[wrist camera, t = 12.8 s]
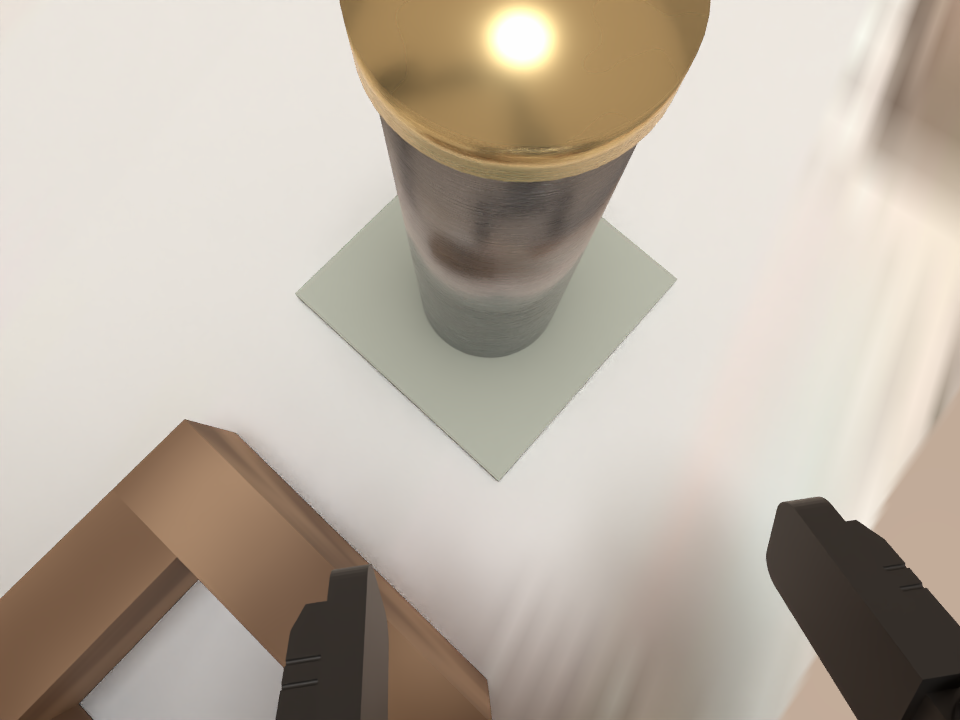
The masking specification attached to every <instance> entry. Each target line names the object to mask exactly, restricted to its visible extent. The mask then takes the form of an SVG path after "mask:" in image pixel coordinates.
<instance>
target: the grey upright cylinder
mask: <svg viewBox="0 0 960 720" xmlns="http://www.w3.org/2000/svg"><path fill="white" fill-rule="evenodd" d="M340 6H341V10H342V14H343V18H344V23H345V27H346V30H347V34H348V38H349V42H350V46H351V50H352V54H353V58H354V62H355V65H356V69H357V73H358V75H359V78H360V80H361V83H362V85H363V88H364V90H365V92H366V94H367V95H368V97H369V99H370V100H371V102H372V104H373V106H374V107H375V109H376V110H377V111H378V113H379V114H380V119H381V123H382V127H383V132H384V136H385V141H386V145H387V149H388V154H389V158H390V163H391V167H392V172H393V176H394V180H395V185H396V189H397V194H398V198H399V202H400V207H401V211H402V216H403V220H404V225H405V229H406V233H407V238H408V242H409V247H410V251H411V255H412V260H413V264H414V269H415V273H416V278H417V282H418V286H419V291H420V295H421V300H422V304H423V308H424V312H425V314H426V317H427V319H428V321H429V323H430V325H431V327H432V328H433V329H434V331H435V332H436V333H437V334H438V335H439V336H440V337H441V339H442V340H444V341H445V342H446V343H447V344H449V345H450V346H452V347H453V348H455V349H457V350H459V351H461V352H463V353H466V354H469V355H472V356H477V357H484V358H495V357H503V356H507V355H511V354H514V353H516V352H519V351H521V350H523V349H525V348H526V347H528V346H529V345H531V344H532V343H533V342H535V341H536V340H537V339H538V338H539V337H540V336H541V335H542V333H543V332H544V331H545V330H546V328H547V326H548V325H549V323H550V321H551V319H552V317H553V315H554V313H555V311H556V309H557V307H558V305H559V303H560V301H561V299H562V297H563V295H564V293H565V290H566V288H567V286H568V284H569V282H570V280H571V278H572V276H573V274H574V272H575V270H576V268H577V266H578V264H579V262H580V260H581V258H582V256H583V254H584V252H585V249H586V247H587V245H588V243H589V241H590V239H591V237H592V235H593V233H594V231H595V229H596V227H597V225H598V223H599V221H600V219H601V217H602V215H603V213H604V211H605V209H606V206H607V204H608V202H609V200H610V198H611V196H612V194H613V192H614V190H615V188H616V186H617V184H618V182H619V180H620V178H621V176H622V174H623V172H624V170H625V168H626V165H627V163H628V161H629V159H630V157H631V155H632V153H633V151H634V149H635V147H636V145H637V143H638V142H639V141H640V140H641V139H643V138H644V137H645V136H646V135H647V134H648V133H649V132H650V131H651V130H652V129H653V127H654V126H655V125H656V124H657V123H658V121H659V120H660V119H661V118H662V117H663V115H664V113H665V112H666V110H667V108H668V107H669V105H670V103H671V102H672V100H673V98H674V96H675V94H676V93H677V91H678V89H679V87H680V85H681V83H682V81H683V79H684V77H685V75H686V73H687V72H688V70H689V68H690V66H691V64H692V62H693V60H694V58H695V56H696V54H697V52H698V50H699V47H700V45H701V42H702V40H703V37H704V35H705V31H706V27H707V22H708V18H709V12H710V0H340Z"/></svg>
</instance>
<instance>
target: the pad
mask: <svg viewBox="0 0 960 720" xmlns="http://www.w3.org/2000/svg"><path fill="white" fill-rule="evenodd" d="M676 280H677V279H676V278H675V277H674V276H673V275H672V274H670V273H669V272H668V271H667V270H666V269H664V268H663V267H662V266H661V265H659V264H658V263H657V262H656V261H655V260H653V259H652V258H651V257H650V256H649V255H647V254H646V253H645V252H644V251H642V250H641V249H640V248H639V247H638V246H636V245H635V244H634V243H633V242H632V241H630V240H629V239H628V238H627V237H625V236H624V235H623V234H622V233H621V232H619V231H618V230H617V229H616V228H615V227H613V226H612V225H611V224H610V223H608V222H607V221H606V220H605V219H604V218H602V217H601V219H600V221H599V223H598V225H597V227H596V229H595V231H594V233H593V235H592V237H591V239H590V241H589V243H588V245H587V247H586V249H585V252H584V254H583V256H582V258H581V260H580V262H579V264H578V266H577V268H576V270H575V272H574V274H573V276H572V278H571V280H570V282H569V284H568V286H567V288H566V290H565V293H564V295H563V297H562V299H561V301H560V303H559V305H558V307H557V309H556V311H555V313H554V315H553V317H552V319H551V321H550V323H549V325H548V326H547V328H546V330H545V331H544V332H543V333H542V335H541V336H540V337H539V338H538V339H537V340H536V341H535V342H533V343H532V344H531V345H529V346H528V347H526V348H525V349H523V350H521V351H519V352H516V353H514V354H511V355H507V356H503V357H495V358H484V357H477V356H472V355H469V354H466V353H463V352H461V351H459V350H457V349H455V348H453V347H452V346H450V345H449V344H447V343H446V342H445V341H444V340H442V339H441V337H440V336H439V335H438V334H437V333H436V332H435V331H434V329H433V328H432V327H431V325H430V323H429V321H428V319H427V317H426V314H425V312H424V308H423V304H422V300H421V295H420V291H419V286H418V282H417V278H416V273H415V269H414V264H413V260H412V255H411V251H410V247H409V242H408V238H407V233H406V229H405V225H404V220H403V216H402V211H401V207H400V202H399V198H398V195H397V196H396V197H395V198H394V199H393V200H392V201H391V202H390V203H388V204H387V205H386V206H385V207H384V208H383V209H382V210H381V211H380V212H379V213H378V214H377V215H376V216H375V217H374V218H373V219H372V220H371V221H370V222H369V223H368V224H367V225H366V226H365V227H364V228H363V229H362V230H361V231H360V232H358V233H357V234H356V235H355V236H354V237H353V238H352V239H351V240H350V241H349V242H348V243H347V244H346V245H345V246H344V247H343V248H342V249H341V250H340V251H339V252H338V253H337V254H336V255H335V256H334V257H333V258H332V259H331V260H329V261H328V262H327V263H326V264H325V265H324V266H323V267H322V268H321V269H320V270H319V271H318V272H317V273H316V274H315V275H314V276H313V277H312V278H311V279H310V280H309V281H308V282H307V283H306V284H305V285H304V286H303V287H302V288H301V289H299V290H298V291H297V292H296V293H295V294H296V295H297V296H298V297H299V298H300V299H301V300H302V301H303V302H304V303H305V304H306V305H307V306H308V307H309V308H310V309H312V310H313V311H314V312H315V313H316V314H317V315H318V316H319V317H320V318H321V319H322V320H324V321H325V322H326V323H327V324H328V325H329V326H330V327H331V328H332V329H333V330H334V331H335V332H337V333H338V334H339V335H340V336H341V337H342V338H343V339H344V340H345V341H346V342H347V343H348V344H350V345H351V346H352V347H353V348H354V349H355V350H356V351H357V352H358V353H359V354H360V355H361V356H363V357H364V358H365V359H366V360H367V361H368V362H369V363H370V364H371V365H372V366H373V367H375V368H376V369H377V370H378V371H379V372H380V373H381V374H382V375H383V376H384V377H385V378H386V379H388V380H389V381H390V382H391V383H392V384H393V385H394V386H395V387H396V388H397V389H398V390H399V391H401V392H402V393H403V394H404V395H405V396H406V397H407V398H408V399H409V400H410V401H411V402H412V403H414V404H415V405H416V406H417V407H418V408H419V409H420V410H421V411H422V412H423V413H424V414H426V415H427V416H428V417H429V418H430V419H431V420H432V421H433V422H434V423H435V424H436V425H437V426H439V427H440V428H441V429H442V430H443V431H444V432H445V433H446V434H447V435H448V436H449V437H450V438H452V439H453V440H454V441H455V442H456V443H457V444H458V445H459V446H460V447H461V448H462V449H463V450H465V451H466V452H467V453H468V454H469V455H470V456H471V457H472V458H473V459H474V460H475V461H477V462H478V463H479V464H480V465H481V466H482V467H483V468H484V469H485V470H486V471H487V472H488V473H490V474H491V475H492V476H493V477H494V478H495V479H496V480H497V481H499V480H500V479H501V478H502V477H503V476H504V475H505V473H506V472H507V471H508V470H509V469H510V468H511V467H512V466H513V464H514V463H515V462H516V461H517V460H518V459H519V458H520V456H521V455H522V454H523V453H524V452H525V451H526V450H527V449H528V447H529V446H530V445H531V444H532V443H533V442H534V441H535V439H536V438H537V437H538V436H539V435H540V434H541V433H542V432H543V430H544V429H545V428H546V427H547V426H548V425H549V424H550V423H551V421H552V420H553V419H554V418H555V417H556V416H557V415H558V413H559V412H560V411H561V410H562V409H563V408H564V407H565V406H566V404H567V403H568V402H569V401H570V400H571V399H572V398H573V396H574V395H575V394H576V393H577V392H578V391H579V390H580V389H581V387H582V386H583V385H584V384H585V383H586V382H587V381H588V380H589V378H590V377H591V376H592V375H593V374H594V373H595V372H596V370H597V369H598V368H599V367H600V366H601V365H602V364H603V363H604V361H605V360H606V359H607V358H608V357H609V356H610V355H611V354H612V352H613V351H614V350H615V349H616V348H617V347H618V346H619V344H620V343H621V342H622V341H623V340H624V339H625V338H626V337H627V335H628V334H629V333H630V332H631V331H632V330H633V329H634V327H635V326H636V325H637V324H638V323H639V322H640V321H641V320H642V318H643V317H644V316H645V315H646V314H647V313H648V312H649V311H650V309H651V308H652V307H653V306H654V305H655V304H656V303H657V301H658V300H659V299H660V298H661V297H662V296H663V295H664V294H665V292H666V291H667V290H668V289H669V288H670V287H671V286H672V284H673V283H674V282H675V281H676Z"/></svg>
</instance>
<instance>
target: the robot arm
mask: <svg viewBox="0 0 960 720" xmlns="http://www.w3.org/2000/svg"><path fill="white" fill-rule="evenodd" d="M766 561H767V567H768V571H769V574H770V577H771V579H772V582H773V584H774V585H775V587H776V589H777V590H778V592H779V594H780V595H781V597H782V598H783V600H784V602H785V603H786V605H787V607H788V608H789V610H790V611H791V613H792V615H793V616H794V618H795V619H796V621H797V623H798V624H799V626H800V628H801V629H802V631H803V632H804V634H805V636H806V637H807V639H808V640H809V642H810V644H811V645H812V647H813V648H814V650H815V652H816V653H817V655H818V656H819V658H820V660H821V661H822V663H823V665H824V666H825V668H826V669H827V671H828V672H829V674H830V676H831V677H832V679H833V681H834V682H835V684H836V686H837V687H838V689H839V690H840V692H841V694H842V695H843V697H844V698H845V700H846V702H847V703H848V705H849V706H850V708H851V710H852V711H853V713H854V714H855V716H856V718H857V719H858V720H960V626H959V625H958V624H957V622H956V621H955V620H954V619H953V618H952V617H951V615H950V614H949V613H948V612H947V611H946V610H945V609H944V607H943V606H942V605H941V604H940V603H939V602H938V601H937V599H936V598H935V597H934V596H933V595H932V594H931V593H930V591H929V590H928V589H927V588H924V587H923V586H922V582H921V581H920V580H919V579H918V577H917V576H916V575H915V574H914V573H913V572H912V570H911V569H910V568H906V566H905V562H904V561H903V560H902V559H901V558H900V557H899V555H898V554H897V553H896V552H895V551H894V550H893V549H892V548H891V546H890V545H889V544H888V543H887V542H886V540H885V539H883V538H882V537H880V536H879V535H877V534H876V533H875V532H873V531H872V530H870V529H869V528H867V527H866V526H864V525H863V524H861V523H860V522H858V521H857V520H853V521H846V522H845V520H844V519H843V518H842V517H841V516H840V514H839V513H838V512H837V511H836V509H835V508H834V507H833V506H832V505H831V504H830V502H829V501H827V500H826V499H824V498H823V497H813V498H806V499H800V500H793V501H787V502H782V503H780V504H779V506H778V508H777V511H776V515H775V519H774V524H773V528H772V532H771V536H770V540H769V544H768V548H767V553H766ZM285 661H286V666H284V672H283V678H282V684H281V685H282V690H281V691H280V696H279V702H278V709H277V715H276V720H388V666H389V637H388V625H387V618H386V612H385V609H384V605H383V601H382V598H381V594H380V591H379V587H378V584H377V580H376V577H375V573H374V569H373V567H372V565H371V564H366V565H360V566H353V567H347V568H340V569H334V570H332V571H331V574H330V578H329V587H328V595H327V601H322V602H316V603H309V604H305V606H304V608H303V609H302V611H301V613H300V615H299V617H298V618H297V620H296V622H295V624H294V625H293V627H292V629H291V631H290V635H289V641H288V648H287V654H286V660H285Z"/></svg>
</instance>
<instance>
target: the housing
mask: <svg viewBox="0 0 960 720" xmlns="http://www.w3.org/2000/svg"><path fill="white" fill-rule="evenodd" d="M366 564H369V563H368V562H367V561H366V560H365V559H364V558H362V557H361V556H360V555H359V554H358V553H357V552H356V551H355V550H354V549H353V548H352V547H351V546H350V545H349V544H348V543H347V542H346V541H345V540H344V539H343V538H342V537H341V536H340V535H339V534H338V533H337V532H336V531H335V530H334V529H333V528H332V527H331V526H330V525H329V524H328V523H327V522H326V521H325V520H324V519H323V518H322V517H321V516H320V515H319V514H318V513H317V512H316V511H315V510H314V509H313V508H311V507H310V506H309V505H308V504H307V503H306V502H305V501H304V500H303V499H302V498H301V497H300V496H299V495H298V494H297V493H296V492H295V491H294V490H293V489H292V488H291V487H290V486H289V485H288V484H287V483H286V482H285V481H284V480H283V479H282V478H281V477H280V476H279V475H278V474H277V473H276V472H275V471H274V470H273V469H272V468H271V467H270V466H269V465H268V464H267V463H266V462H265V461H264V460H263V459H262V458H260V457H259V456H258V455H257V454H256V453H255V452H254V451H253V450H252V449H251V448H250V447H249V446H248V445H247V444H246V443H245V442H244V441H243V440H242V439H241V438H240V437H239V436H238V435H237V434H236V433H234V432H230V431H226V430H223V429H219V428H215V427H212V426H208V425H204V424H200V423H197V422H193V421H189V420H186V419H184V420H183V421H182V422H181V423H180V424H179V425H178V426H177V427H176V428H175V429H174V430H173V431H172V432H171V433H170V434H169V435H168V436H167V437H166V438H165V439H164V440H163V441H162V442H161V443H160V444H159V445H158V446H157V447H156V448H155V449H154V450H153V451H152V452H151V453H149V454H148V455H147V456H146V457H145V458H144V459H143V460H142V461H141V462H140V463H139V464H138V465H137V466H136V467H135V468H134V469H133V470H132V471H131V472H130V473H129V474H128V475H127V476H126V477H125V478H124V479H123V480H122V481H121V482H120V483H119V484H118V485H117V486H116V487H115V488H114V489H112V490H111V491H110V492H109V493H108V494H107V495H106V496H105V497H104V498H103V499H102V500H101V501H100V502H99V503H98V504H97V505H96V506H95V507H94V508H93V509H92V510H91V511H90V512H89V513H88V514H87V515H86V516H85V517H84V518H83V519H82V520H81V521H80V522H79V523H78V524H77V525H76V526H74V527H73V528H72V529H71V530H70V531H69V532H68V533H67V534H66V535H65V536H64V537H63V538H62V539H61V540H60V541H59V542H58V543H57V544H56V545H55V546H54V547H53V548H52V549H51V550H50V551H49V552H48V553H47V554H46V555H45V556H44V557H43V558H42V559H41V560H40V561H39V562H37V563H36V564H35V565H34V566H33V567H32V568H31V569H30V570H29V571H28V572H27V573H26V574H25V575H24V576H23V577H22V578H21V579H20V580H19V581H18V582H17V583H16V584H15V585H14V586H13V587H12V588H11V589H10V590H9V591H8V592H7V593H6V594H5V595H4V596H3V597H2V598H1V599H0V720H92V719H91V718H90V716H89V715H88V714H87V713H86V712H85V711H84V710H83V709H82V707H81V706H80V705H79V703H80V702H81V701H82V700H83V699H84V698H85V697H86V696H87V695H88V694H89V693H90V692H91V691H92V689H93V688H94V687H95V686H96V685H97V684H98V683H99V682H100V681H101V680H102V679H103V678H104V677H105V676H106V675H107V674H108V673H109V672H110V671H111V670H112V669H113V668H114V667H115V666H116V665H117V663H118V662H119V661H120V660H121V659H122V658H123V657H124V656H125V655H126V654H127V653H128V652H129V651H130V650H131V649H132V648H133V647H134V646H135V645H136V644H137V643H138V642H139V641H140V640H141V639H142V638H143V636H144V635H145V634H146V633H147V632H148V631H149V630H150V629H151V628H152V627H153V626H154V625H155V624H156V623H157V622H158V621H159V620H160V619H161V618H162V617H163V616H164V615H165V614H166V613H167V612H168V610H169V609H170V608H171V607H172V606H173V605H174V604H175V603H176V602H177V601H178V600H179V599H180V598H181V597H182V596H183V595H184V594H185V593H186V592H187V591H188V590H189V589H190V588H191V587H192V586H193V584H194V583H195V582H196V581H197V580H198V579H199V580H200V581H201V582H202V583H203V584H204V586H205V587H206V588H207V589H208V590H209V591H210V592H211V593H212V594H213V595H214V596H215V597H216V598H217V599H218V600H219V601H220V602H221V603H222V604H223V605H224V606H225V607H226V608H227V609H228V610H229V611H230V612H231V614H232V615H233V616H234V617H235V618H236V619H237V620H238V621H239V622H240V623H241V624H242V625H243V626H244V627H245V628H246V629H247V630H248V631H249V632H250V633H251V634H252V635H253V636H254V637H255V638H256V639H257V640H258V641H259V643H260V644H261V645H262V646H263V647H264V648H265V649H266V650H267V651H268V652H269V653H270V654H271V655H272V656H273V657H274V658H275V659H276V660H277V661H278V662H279V663H280V664H281V665H282V666H283V667H284V666H286V661H285V660H286V654H287V648H288V641H289V635H290V631H291V629H292V627H293V625H294V624H295V622H296V620H297V618H298V617H299V615H300V613H301V611H302V609H303V608H304V606H305V604H309V603H316V602H322V601H327V595H328V587H329V578H330V574H331V571H332V570H334V569H340V568H347V567H353V566H360V565H366ZM373 569H374V568H373ZM374 573H375V577H376V580H377V584H378V587H379V591H380V594H381V598H382V601H383V605H384V609H385V612H386V618H387V625H388V637H389V666H388V720H492V716H491V708H490V699H489V691H488V683H487V679H486V678H485V677H484V676H483V675H482V674H481V673H480V672H479V671H478V670H477V669H476V668H475V667H474V666H473V665H472V664H471V663H470V662H469V661H468V660H467V659H466V658H464V657H463V656H462V655H461V654H460V653H459V652H458V651H457V650H456V649H455V648H454V647H453V646H452V645H451V644H450V643H449V642H448V641H447V640H446V639H445V638H444V637H443V636H442V635H441V634H440V633H439V632H438V631H437V630H436V629H435V628H434V627H433V626H432V625H431V624H430V623H429V622H428V621H427V620H426V619H425V618H424V617H423V616H422V615H421V614H420V613H419V612H418V611H417V610H416V609H415V608H413V607H412V606H411V605H410V604H409V603H408V602H407V601H406V600H405V599H404V598H403V597H402V596H401V595H400V594H399V593H398V592H397V591H396V590H395V589H394V588H393V587H392V586H391V585H390V584H389V583H388V582H387V581H386V580H385V579H384V578H383V577H382V576H381V575H380V574H379V573H378V572H377V571H376V570H375V569H374Z"/></svg>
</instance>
